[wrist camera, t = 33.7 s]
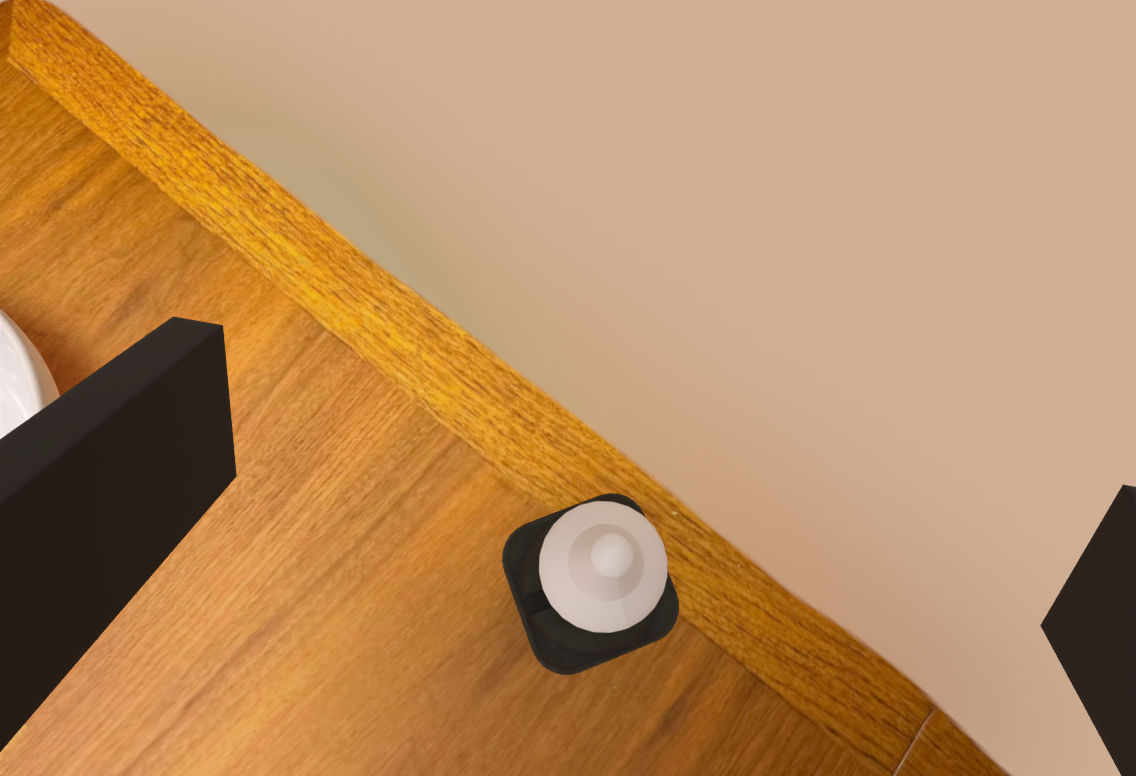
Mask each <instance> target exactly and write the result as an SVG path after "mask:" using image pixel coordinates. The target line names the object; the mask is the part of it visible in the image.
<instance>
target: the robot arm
mask: <svg viewBox="0 0 1136 776" xmlns="http://www.w3.org/2000/svg"><path fill="white" fill-rule="evenodd" d="M235 477H236V465H235V454H234V443H233V432H232V421H231V410H230V399H229V387H228V376H227V365H226V354H225V343H224V332H223V325H218V324H212V323H206V322H201V321H195V320H189V319H184V318H178V317H172V318H171V319H169V320H168V321H166V322H165V323H163V324H162V325H161V326H159V327H158V328H156V329H155V330H154V331H152V332H151V333H149V334H148V335H146V336H145V337H144V338H142V339H141V340H139V341H138V342H137V343H135V344H134V345H132V346H131V347H130V348H128V349H127V350H125V351H124V352H122V353H121V354H120V355H118V356H117V357H115V358H114V359H113V360H111V361H110V362H108V363H107V364H106V365H104V366H103V367H101V368H100V369H98V370H97V371H96V372H94V373H93V374H91V375H90V376H89V377H87V378H86V379H84V380H83V381H81V382H80V383H79V384H77V385H76V386H74V387H73V388H72V389H70V390H69V391H67V392H66V393H65V394H63V395H62V396H60V397H59V398H57V399H56V400H55V401H53V402H52V403H50V404H49V405H48V406H46V407H45V408H43V409H42V410H40V411H39V412H38V413H36V414H35V415H33V416H32V417H31V418H29V419H28V420H26V421H25V422H24V423H22V424H21V425H19V426H18V427H16V428H15V429H14V430H12V431H11V432H9V433H8V434H7V435H5V436H4V437H2V438H1V439H0V752H1V751H2V749H3V748H4V747H5V746H6V745H7V744H8V742H9V741H10V740H11V739H12V738H13V737H14V735H15V734H16V733H17V732H18V731H19V730H20V728H21V727H22V726H23V725H24V724H25V723H26V721H27V720H28V719H29V718H30V717H31V716H32V714H33V713H34V712H35V711H36V710H37V709H38V707H39V706H40V705H41V704H42V703H43V702H44V700H45V699H46V698H47V697H48V696H49V695H50V693H51V692H52V691H53V690H54V689H55V688H56V686H57V685H58V684H59V683H60V682H61V681H62V679H63V678H64V677H65V676H66V675H67V674H68V672H69V671H70V670H71V669H72V668H73V667H74V665H75V664H76V663H77V662H78V661H79V660H80V658H81V657H82V656H83V655H84V654H85V653H86V651H87V650H88V649H89V648H90V647H91V646H92V644H93V643H94V642H95V641H96V640H97V639H98V637H99V636H100V635H101V634H102V633H103V631H104V630H105V629H106V628H107V627H108V626H109V624H110V623H111V622H112V621H113V620H114V619H115V617H116V616H117V615H118V614H119V613H120V612H121V610H122V609H123V608H124V607H125V606H126V605H127V603H128V602H129V601H130V600H131V599H132V598H133V596H134V595H135V594H136V593H137V592H138V591H139V589H140V588H141V587H142V586H143V585H144V584H145V582H146V581H147V580H148V579H149V578H150V577H151V575H152V574H153V573H154V572H155V571H156V570H157V568H158V567H159V566H160V565H161V564H162V563H163V561H164V560H165V559H166V558H167V557H168V556H169V554H170V553H171V552H172V551H173V550H174V549H175V547H176V546H177V545H178V544H179V543H180V542H181V540H182V539H183V538H184V537H185V536H186V535H187V533H188V532H189V531H190V530H191V529H192V528H193V526H194V525H195V524H196V523H197V522H198V521H199V519H200V518H201V517H202V516H203V515H204V514H205V512H206V511H207V510H208V509H209V508H210V507H211V505H212V504H213V503H214V502H215V501H216V500H217V498H218V497H219V496H220V495H221V494H222V493H223V491H224V490H225V489H226V488H227V487H228V486H229V484H230V483H231V482H232V481H233V480H234V479H235ZM1041 627H1042V629H1043V631H1044V633H1045V635H1046V637H1047V639H1048V640H1049V642H1050V644H1051V646H1052V648H1053V650H1054V652H1055V653H1056V655H1057V657H1058V659H1059V661H1060V662H1061V664H1062V666H1063V668H1064V670H1065V672H1066V674H1067V676H1068V677H1069V679H1070V681H1071V683H1072V685H1073V687H1074V689H1075V690H1076V692H1077V694H1078V696H1079V698H1080V700H1081V702H1082V703H1083V705H1084V707H1085V709H1086V711H1087V713H1088V715H1089V716H1090V718H1091V720H1092V722H1093V724H1094V726H1095V728H1096V729H1097V731H1098V733H1099V735H1100V736H1101V739H1102V741H1103V742H1104V744H1105V746H1106V748H1107V750H1108V751H1109V754H1110V755H1111V757H1112V759H1113V761H1114V763H1115V765H1116V767H1117V768H1118V770H1119V772H1120V774H1121V776H1136V487H1133V486H1127V485H1123V486H1122V488H1121V489H1120V491H1119V492H1118V494H1117V496H1116V497H1115V499H1114V501H1113V503H1112V504H1111V506H1110V508H1109V509H1108V511H1107V513H1106V514H1105V516H1104V518H1103V520H1102V521H1101V523H1100V525H1099V527H1098V528H1097V530H1096V532H1095V534H1094V535H1093V537H1092V538H1091V540H1090V542H1089V544H1088V545H1087V547H1086V549H1085V550H1084V552H1083V554H1082V556H1081V557H1080V559H1079V561H1078V562H1077V564H1076V566H1075V568H1074V569H1073V571H1072V573H1071V574H1070V576H1069V578H1068V579H1067V581H1066V583H1065V585H1064V586H1063V588H1062V590H1061V591H1060V593H1059V595H1058V597H1057V598H1056V600H1055V602H1054V603H1053V605H1052V607H1051V608H1050V610H1049V612H1048V614H1047V615H1046V617H1045V619H1044V620H1043V622H1042V624H1041Z"/></svg>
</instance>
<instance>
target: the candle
mask: <svg viewBox="0 0 1136 776" xmlns="http://www.w3.org/2000/svg"><path fill="white" fill-rule="evenodd" d="M502 562H503V567H504V571H505V574H506V577H507V580H508V583H509V585H510V588H511V591H512V594H513V597H514V600H515V602H516V605H517V608H518V611H519V614H520V616H521V619H522V622H523V625H524V628H525V631H526V633H527V636H528V639H529V642H530V645H531V648H532V650H533V652H534V654H535V656H536V658H537V660H538V661H539V662H540V663H541V664H542V665H543V666H544V667H545V668H547V669H548V670H550V671H551V672H554V673H558V674H561V675H572V674H575V673H579V672H582V671H584V670H587V669H589V668H592V667H594V666H597V665H599V664H602V663H604V662H606V661H609V660H611V659H614V658H616V657H619V656H621V655H624V654H626V653H628V652H631V651H633V650H636V649H638V648H641V647H643V646H646V645H648V644H650V643H653V642H655V641H658V640H659V639H661V638H663V637H664V636H666V635H667V634H668V633H669V632H670V631H671V630H672V628H673V626H674V624H675V623H676V621H677V617H678V613H679V601H678V597H677V593H676V590H675V588H674V586H673V583H672V581H671V578H670V576H669V573H668V571H667V556H666V552H665V548H664V545H663V541H662V540H661V538H660V536H659V534H658V533H657V531H656V529H655V527H654V526H653V525H652V524H651V523H650V522H649V521H648V520H647V519H646V517H645V515H644V513H643V511H642V510H641V508H640V507H639V506H638V505H637V504H636V503H635V502H634V501H633V500H631V499H630V498H628V497H627V496H624V495H620V494H611V493H608V494H604V495H600V496H597V497H594V498H592V499H589V500H587V501H584V502H581V503H579V504H576V505H574V506H571V507H568V508H566V509H563V510H561V511H558V512H555V513H553V514H550V515H548V516H545V517H542V518H540V519H537V520H535V521H532V522H529V523H527V524H525V525H523V526H521V527H519V528H517V529H516V530H515V531H514V532H513V533H512V534H511V535H510V536H509V538H508V540H507V541H506V543H505V546H504V549H503V557H502Z"/></svg>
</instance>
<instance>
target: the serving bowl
mask: <svg viewBox="0 0 1136 776" xmlns="http://www.w3.org/2000/svg"><path fill="white" fill-rule="evenodd" d="M59 397H60V394H59V392H58V389H57V386H56V383H55V381H54V379H53V377H52V375H51V372H50V371H49V369H48V367H47V365H46V363H45V361H44V360H43V358H42V356H41V355H40V353H39V352H38V350H37V349H36V347H35V346H34V345H33V343H32V342H31V341H30V339H29V338H28V337H27V336H26V334H25V333H24V332H23V331H22V330H21V329H20V327H19V326H18V325H17V324H16V323H15V322H14V321H13V320H12V319H11V318H10V317H9V316H8V315H7V314H6V313H5V312H4V311H2V310H1V309H0V439H1V438H2V437H4V436H5V435H7V434H8V433H9V432H11V431H12V430H14V429H15V428H16V427H18V426H19V425H21V424H22V423H24V422H25V421H26V420H28V419H29V418H31V417H32V416H33V415H35V414H36V413H38V412H39V411H40V410H42V409H43V408H45V407H46V406H48V405H49V404H50V403H52V402H53V401H55V400H56V399H57V398H59Z"/></svg>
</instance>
